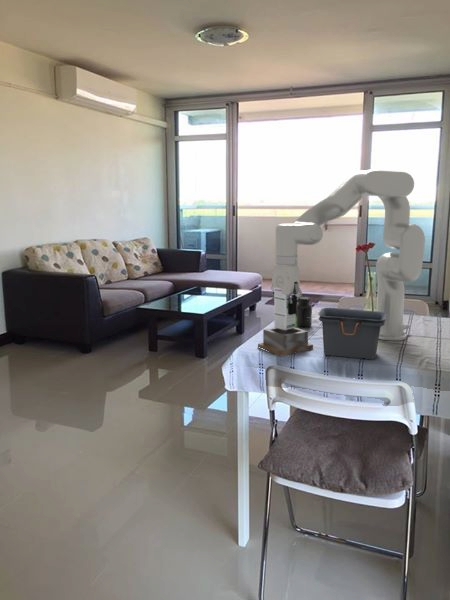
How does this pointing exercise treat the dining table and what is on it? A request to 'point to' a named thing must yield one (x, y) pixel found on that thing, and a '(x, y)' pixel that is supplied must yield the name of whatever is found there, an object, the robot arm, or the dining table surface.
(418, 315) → the dining table surface
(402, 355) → the dining table surface
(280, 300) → the syrup box
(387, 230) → the robot arm
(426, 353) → the dining table surface
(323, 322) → the storage bin
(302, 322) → the supplement bottle
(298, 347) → the post base
